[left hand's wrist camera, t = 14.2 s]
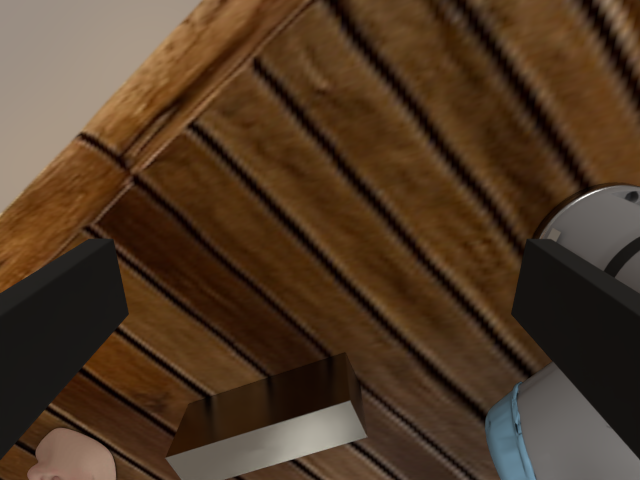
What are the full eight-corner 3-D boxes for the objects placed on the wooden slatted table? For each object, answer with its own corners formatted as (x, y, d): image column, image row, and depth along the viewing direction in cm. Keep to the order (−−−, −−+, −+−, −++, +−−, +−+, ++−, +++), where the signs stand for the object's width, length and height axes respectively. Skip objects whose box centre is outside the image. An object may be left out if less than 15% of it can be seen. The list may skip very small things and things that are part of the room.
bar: (345, 352, 47) (350, 400, 40) (360, 384, 49) (367, 437, 42) (188, 403, 50) (165, 458, 43) (207, 432, 52) (188, 490, 45)
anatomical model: (16, 446, 47) (109, 467, 49) (38, 421, 51) (124, 440, 52) (13, 514, 52) (98, 531, 53) (33, 486, 56) (112, 503, 57)
